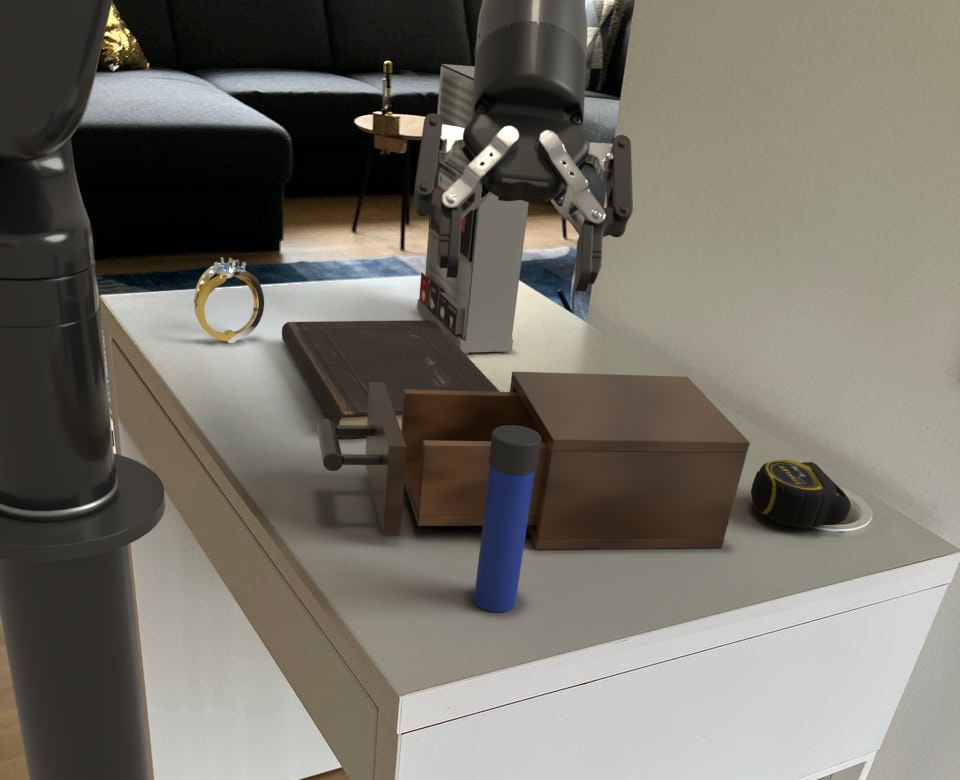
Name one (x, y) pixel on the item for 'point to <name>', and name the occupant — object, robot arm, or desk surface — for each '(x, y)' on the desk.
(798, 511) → the tape measure
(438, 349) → the hardcover book
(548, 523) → the cabinet
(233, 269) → the ring
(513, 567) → the marker
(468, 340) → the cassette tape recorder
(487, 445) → the drawer
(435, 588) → the desk surface
